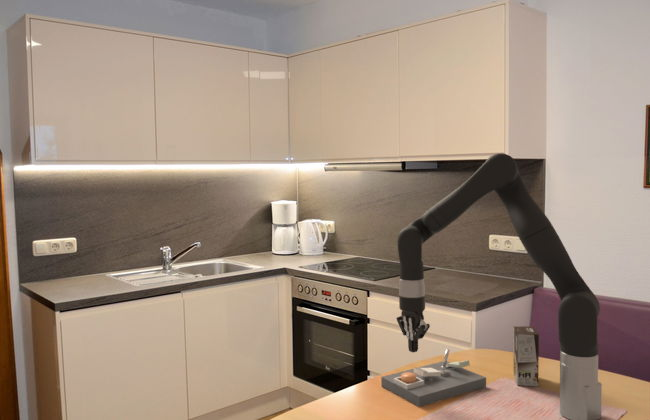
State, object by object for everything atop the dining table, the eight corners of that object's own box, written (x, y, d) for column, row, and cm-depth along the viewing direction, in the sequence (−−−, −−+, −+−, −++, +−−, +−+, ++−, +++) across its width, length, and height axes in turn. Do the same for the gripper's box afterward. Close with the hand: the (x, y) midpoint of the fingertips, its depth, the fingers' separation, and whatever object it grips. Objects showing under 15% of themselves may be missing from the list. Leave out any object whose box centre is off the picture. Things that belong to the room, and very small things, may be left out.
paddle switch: (469, 365, 173) (468, 360, 173) (461, 367, 171) (460, 362, 171) (456, 363, 178) (455, 358, 178) (448, 366, 176) (447, 361, 176)
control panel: (486, 387, 168) (486, 373, 168) (419, 407, 155) (419, 392, 155) (445, 369, 184) (445, 356, 184) (381, 386, 171) (381, 372, 171)
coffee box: (539, 386, 168) (539, 334, 166) (516, 385, 169) (516, 333, 168) (534, 375, 176) (534, 326, 175) (513, 374, 178) (512, 325, 177)
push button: (419, 382, 164) (419, 375, 164) (407, 385, 162) (407, 378, 161) (409, 377, 168) (409, 371, 167) (398, 380, 165) (398, 374, 165)
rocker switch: (440, 375, 168) (441, 371, 168) (422, 376, 164) (423, 371, 164) (430, 371, 172) (431, 367, 172) (413, 372, 168) (413, 367, 168)
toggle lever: (445, 371, 171) (451, 349, 172) (442, 370, 170) (448, 349, 171) (442, 370, 172) (448, 348, 173) (439, 369, 171) (444, 347, 172)
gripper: (437, 295, 159) (438, 354, 161) (407, 288, 171) (408, 343, 172) (416, 299, 156) (418, 360, 157) (388, 291, 167) (389, 348, 168)
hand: (413, 351), depth 164 cm, fingers closed
